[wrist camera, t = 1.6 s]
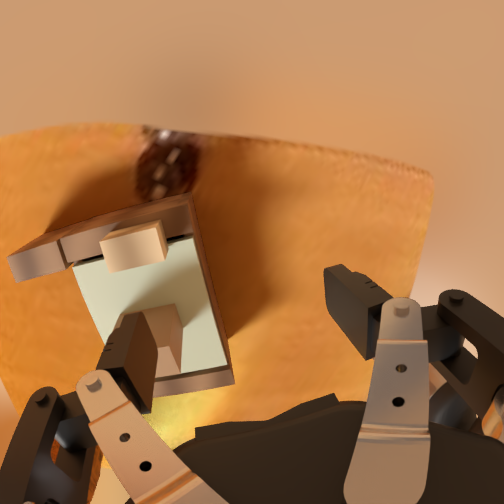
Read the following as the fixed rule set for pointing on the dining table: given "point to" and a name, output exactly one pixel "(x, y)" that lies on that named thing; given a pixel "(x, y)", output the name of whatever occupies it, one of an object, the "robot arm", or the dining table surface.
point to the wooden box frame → (88, 248)
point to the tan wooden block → (134, 246)
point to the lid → (158, 306)
